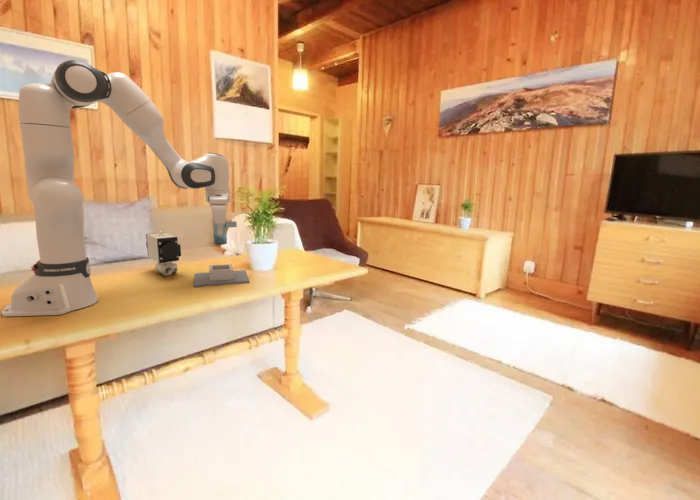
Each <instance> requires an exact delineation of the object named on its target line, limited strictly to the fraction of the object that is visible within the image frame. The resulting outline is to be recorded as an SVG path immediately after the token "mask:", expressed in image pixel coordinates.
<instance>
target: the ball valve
mask: <svg viewBox="0 0 700 500" xmlns="http://www.w3.org/2000/svg"><path fill="white" fill-rule="evenodd" d="M145 237H146V243H145V246H146V249H147V257H148V258H150V259H151V260H152V261H156V264H155V265H154V266H155V267H154V270H155V271H156V272H157V273H159V274H161V275H162V276H164V277H168V276H170V275H172V274H173V273H175V272H177V271H178V264H177V261H180V260H179V259H180V258H179V257H181V256H182V250H181V249H182V248H181V244H180V243H179V240H178V236H176V235H174V234H170V233H168V232H164V231H163V230H160V231H159V232H154V233H146V234H145Z"/></svg>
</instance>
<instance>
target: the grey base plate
mask: <svg viewBox="0 0 700 500" xmlns="http://www.w3.org/2000/svg"><path fill="white" fill-rule="evenodd" d="M208 267H209V268H208V269H209V270H208V271H209V272H198V273H197V272H196V273H194V277H193V285H192V286H193V288H196V287H197V288H199V287H200V288H201V287H210V286H211V287H212V286H213V287H214V286H226V285H236V284H237V285H239V284H250V278H249V276H248V274H247V271H246V269H242V270H234V267H233V264H232V263H227V264H226V263H225V264H209V266H208Z"/></svg>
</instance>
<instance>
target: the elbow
mask: <svg viewBox="0 0 700 500" xmlns="http://www.w3.org/2000/svg"><path fill="white" fill-rule="evenodd" d="M237 224H238V223H237V221H235V220H231V221H228V220H226V221H225V225H223V229H222V232H223V234H222V235H218V233H217V225H215V223H214V219H213V220H212V231H213V235H212V236H213V244H214V245H217V246H221V245H223V246H224V245H227V244H228V238H227V228H237Z"/></svg>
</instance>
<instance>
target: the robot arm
mask: <svg viewBox="0 0 700 500" xmlns="http://www.w3.org/2000/svg"><path fill="white" fill-rule="evenodd" d="M52 74H53V75H52V77H51V81H50V82H49V83H48V82H47V83H38V82H33V83H28V84H25V85H23V86H22V87H21V88H20V89H19V95H18V120H19V127H20V134H21V141H22V147H23V148H22V149H23V153H24V154H23V156H24V166H25V167H24V168H25V176H26V186H27V192H28V197H29V200H30V202H31V203H32V205H33V212H34V219H35V220H34V221H35V231H36V240H37V241H36V242H37V247H38V254H39V260H37V261H36V262H35V263H34V264H33V265H32V266H31V267H30V268H31V270H30V271H31V272H33V273H34V274H33V275H31V277H30V278H28V279H27V280H25V281H24V282H23V283H21V284H19V286H17V287H16V288H15V289H14V290H13V292H12V294H11V300H10V303H9V304H8V305H6V306H5V307H4V308H3V309H2V310H1V315H2V317H31V316H37V317H38V316H60V315H65V314H67V313H70V312H72V311H75V310H79V309H83V308H86V307H87V308H88V307H90V306H92V305H94V304H96V303H97V302H98V301H99V297H98V295H97V294H96V292H95V289H94V286H93V283H92V279H91V270H92V269H91V264H90V260H89V257H87V255H88V254H87V249H86V248H87V247H86V241H85V239H86V238H85V222H84V221H85V220H84V219H85V214H84V212H85V211H84V198H83V197H84V196H83V193H82V190H81V189H80V188H79V185H77V184H76V183H75V151H74V141H73V135H72V134H73V133H72V125H71V110H72V109H78V108H84V107H88V106H91V105H93V104H95V103H97V102H98V103H101V104H103V105H106V106H107V107H109V108H110V110H113V112H114V113H115V114H116V116H117V117H118V118H119V119H120V120H121V121H122V123H124V124H125V125H126V126H127V127H128V129H130V130H131V131H132V132H133V133H134V134H135V135H136V136H137V137H138V138H140V140H142V141H143V142H144V144H146V145H147V146H148V147H149V149H150V150H151V151H152V152H153V153H154V154H155V156H156V157H157V158H158V160H160V161H161V163H162V164H163V165H164V167H165V168H166V170H167V172H168V175H169V178H170V181H172V183H173V184H174V185H175V186H176V187H178V188H181V189H184V190H186V189H191V190H199V189H202V188H204V192H205V193H204V194H205V202H206V203H208V204H209V207H210V208H211V211H212V218H213V220H214V223H215V225H217V233H218V235H222V234H223V232H222V229H223V225H225V221H227V209H228V208H227V207H228V204H229V203H230V202H231V187H230V184H229V182H230V168H229V163H228V160H227V158H226V156H224V155H223V154H219V153H216V152H215V153H214V152H206V153H205V154H204V155H202V156H200V157H199V158H196V159H193V160H191V161H188V160H185V159H183V158H182V157H181V156H180V154H178V152H177V151H176V150H175V148H174V147H173V146H172V144H171V142H169V141H168V138H166V135H165V131H164V126H165V125H164V124H165V123H164V117H163V116H162V114H161V112H160V110H159V109H158V108H157V105H155V103H154V102H153V101H152V100H151V98H150V97H149V96H148V95H147V93H145V92H144V91H143V89H142V88H141V87H140V86H139V85H138V84H137V83H136V82H134V80H132V79H131V78H130V77H129V76H128V75H127V74H125V73H123V72H120V71H115V72H110V73H105V72H104V71H101V70H100V69H97V68H95V67H94V66H92V65H91V64H89V63H86V62H84V61H81V60H77V59H76V60H75V59H70V60H65V61H63V62H61V63H60V64H58V66H57V67H56V69H55V70H54V72H53V73H52Z"/></svg>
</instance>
